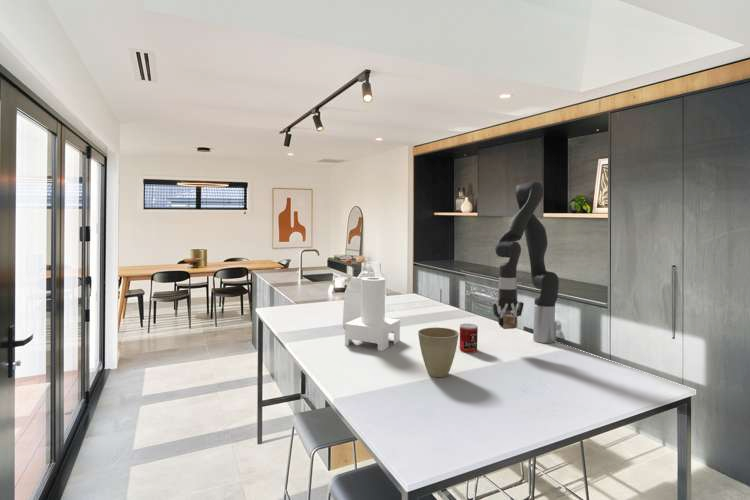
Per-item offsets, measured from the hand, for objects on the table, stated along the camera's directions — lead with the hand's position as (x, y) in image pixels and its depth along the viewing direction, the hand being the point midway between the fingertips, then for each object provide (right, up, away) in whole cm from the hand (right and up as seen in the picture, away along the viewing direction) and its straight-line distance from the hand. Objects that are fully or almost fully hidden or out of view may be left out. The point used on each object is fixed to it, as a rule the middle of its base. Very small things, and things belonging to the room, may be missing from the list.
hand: (507, 325), depth 194 cm
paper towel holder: (-59, -10, +12) cm, 61 cm away
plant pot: (-34, -14, -28) cm, 46 cm away
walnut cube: (0, -1, 0) cm, 1 cm away
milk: (-67, -8, +44) cm, 81 cm away
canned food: (-17, -11, +2) cm, 20 cm away
